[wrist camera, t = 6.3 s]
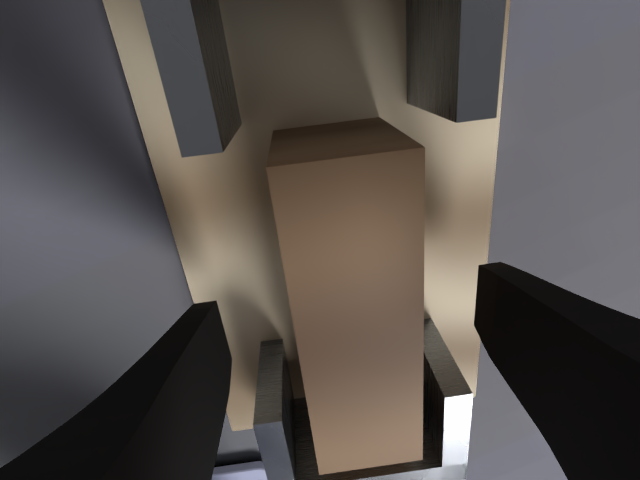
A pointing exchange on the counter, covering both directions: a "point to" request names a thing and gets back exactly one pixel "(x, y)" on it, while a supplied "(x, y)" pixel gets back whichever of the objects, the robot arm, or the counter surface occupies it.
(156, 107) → the board
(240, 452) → the counter surface
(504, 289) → the robot arm
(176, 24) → the bracket
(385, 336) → the slat
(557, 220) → the counter surface
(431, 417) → the fixed bracket
